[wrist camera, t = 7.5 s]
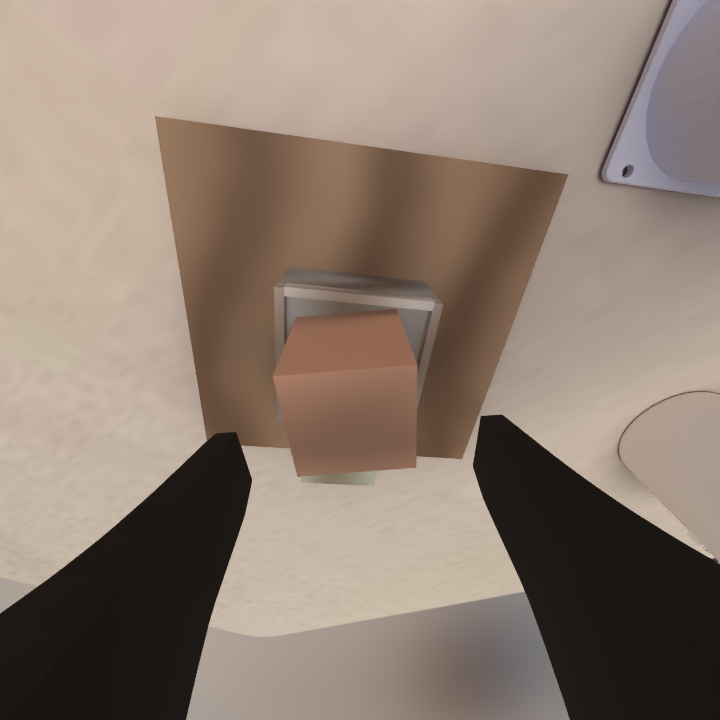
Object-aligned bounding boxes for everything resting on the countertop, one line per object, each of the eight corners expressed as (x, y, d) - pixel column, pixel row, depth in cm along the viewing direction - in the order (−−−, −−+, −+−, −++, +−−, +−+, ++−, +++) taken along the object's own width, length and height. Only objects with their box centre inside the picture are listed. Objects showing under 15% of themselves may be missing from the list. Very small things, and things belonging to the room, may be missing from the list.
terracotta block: (396, 308, 14) (417, 364, 10) (398, 391, 16) (416, 467, 12) (296, 317, 14) (272, 376, 10) (311, 398, 16) (297, 476, 12)
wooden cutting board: (555, 175, 15) (629, 171, 11) (457, 448, 24) (479, 502, 20) (167, 120, 14) (92, 94, 10) (212, 433, 22) (183, 487, 18)
